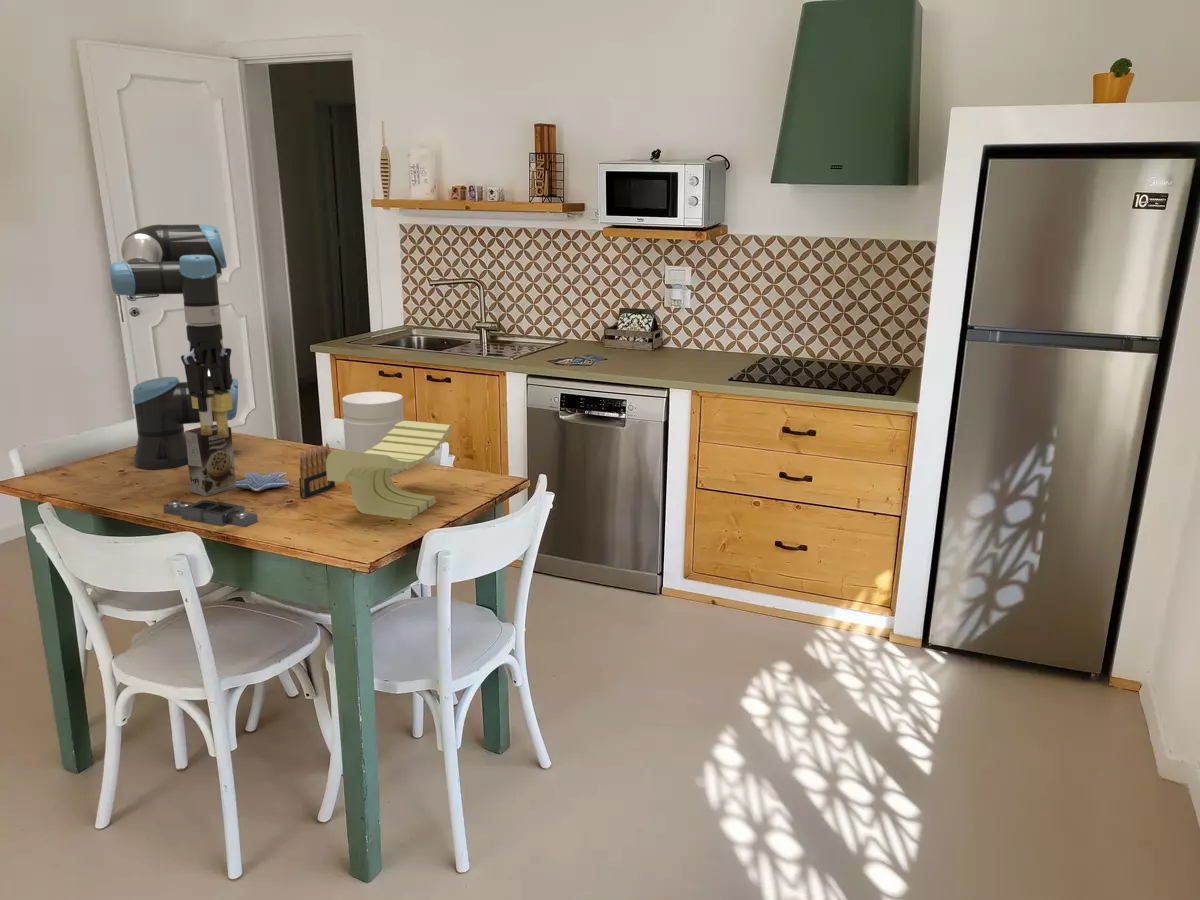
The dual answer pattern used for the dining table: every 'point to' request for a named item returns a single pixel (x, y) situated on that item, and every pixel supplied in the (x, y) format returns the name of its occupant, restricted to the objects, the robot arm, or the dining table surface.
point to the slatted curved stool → (388, 469)
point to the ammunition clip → (314, 472)
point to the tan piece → (220, 405)
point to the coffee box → (210, 462)
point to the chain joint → (211, 512)
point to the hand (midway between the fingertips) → (213, 422)
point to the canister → (370, 419)
